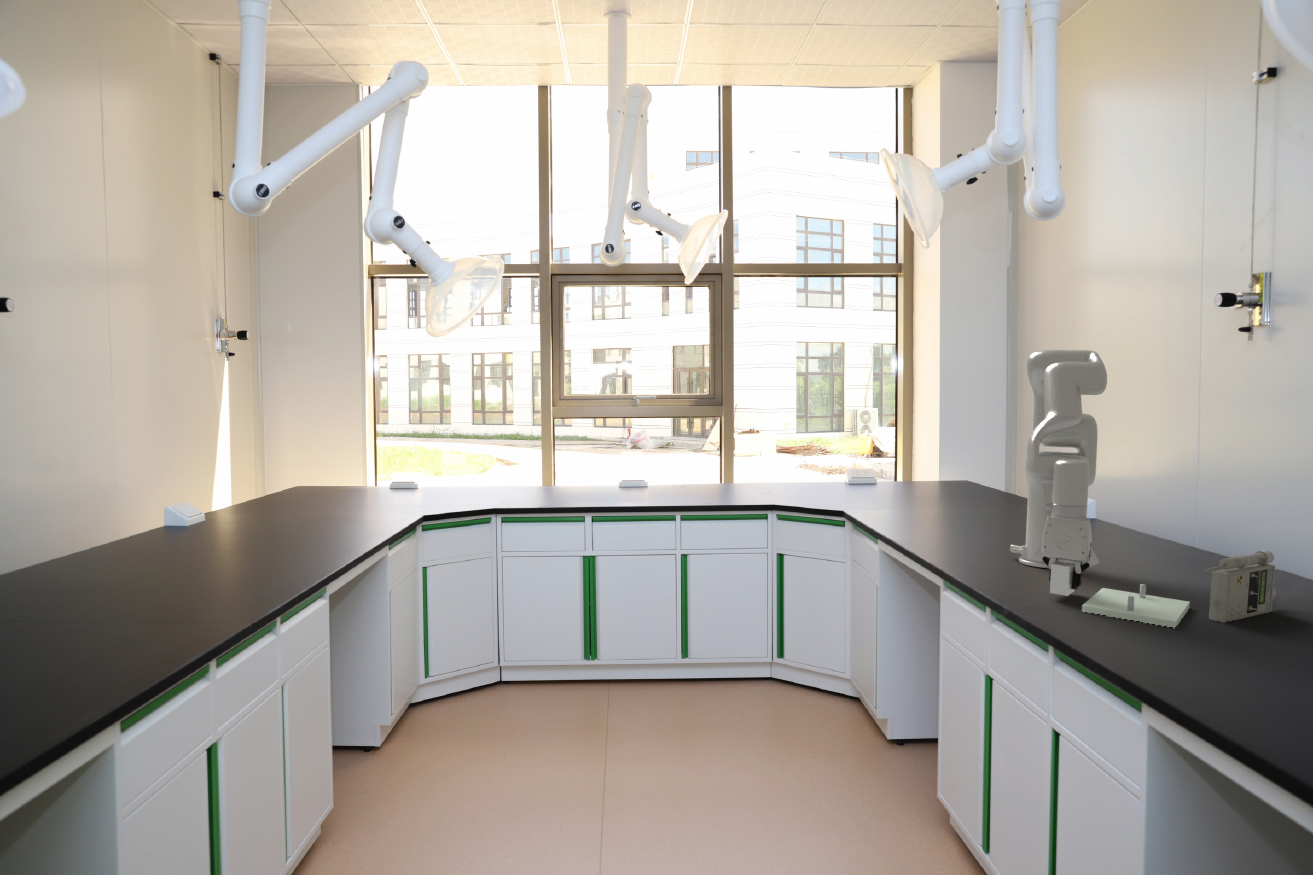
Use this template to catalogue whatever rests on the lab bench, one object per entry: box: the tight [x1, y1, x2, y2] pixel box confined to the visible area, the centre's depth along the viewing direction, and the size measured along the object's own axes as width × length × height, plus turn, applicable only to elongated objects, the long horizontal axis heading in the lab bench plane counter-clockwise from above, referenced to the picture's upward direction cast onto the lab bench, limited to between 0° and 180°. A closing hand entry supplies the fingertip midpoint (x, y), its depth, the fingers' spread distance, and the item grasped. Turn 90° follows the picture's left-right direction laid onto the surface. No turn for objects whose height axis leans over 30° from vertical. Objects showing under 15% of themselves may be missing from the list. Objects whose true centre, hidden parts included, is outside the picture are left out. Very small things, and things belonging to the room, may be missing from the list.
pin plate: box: [1081, 583, 1191, 629], centre depth 188 cm, size 18×20×4 cm
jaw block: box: [1049, 559, 1076, 597], centre depth 197 cm, size 4×10×7 cm, turn 140°
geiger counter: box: [1204, 549, 1278, 624], centre depth 186 cm, size 14×6×25 cm
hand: (1064, 585), depth 198 cm, fingers closed on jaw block, 4 cm apart
